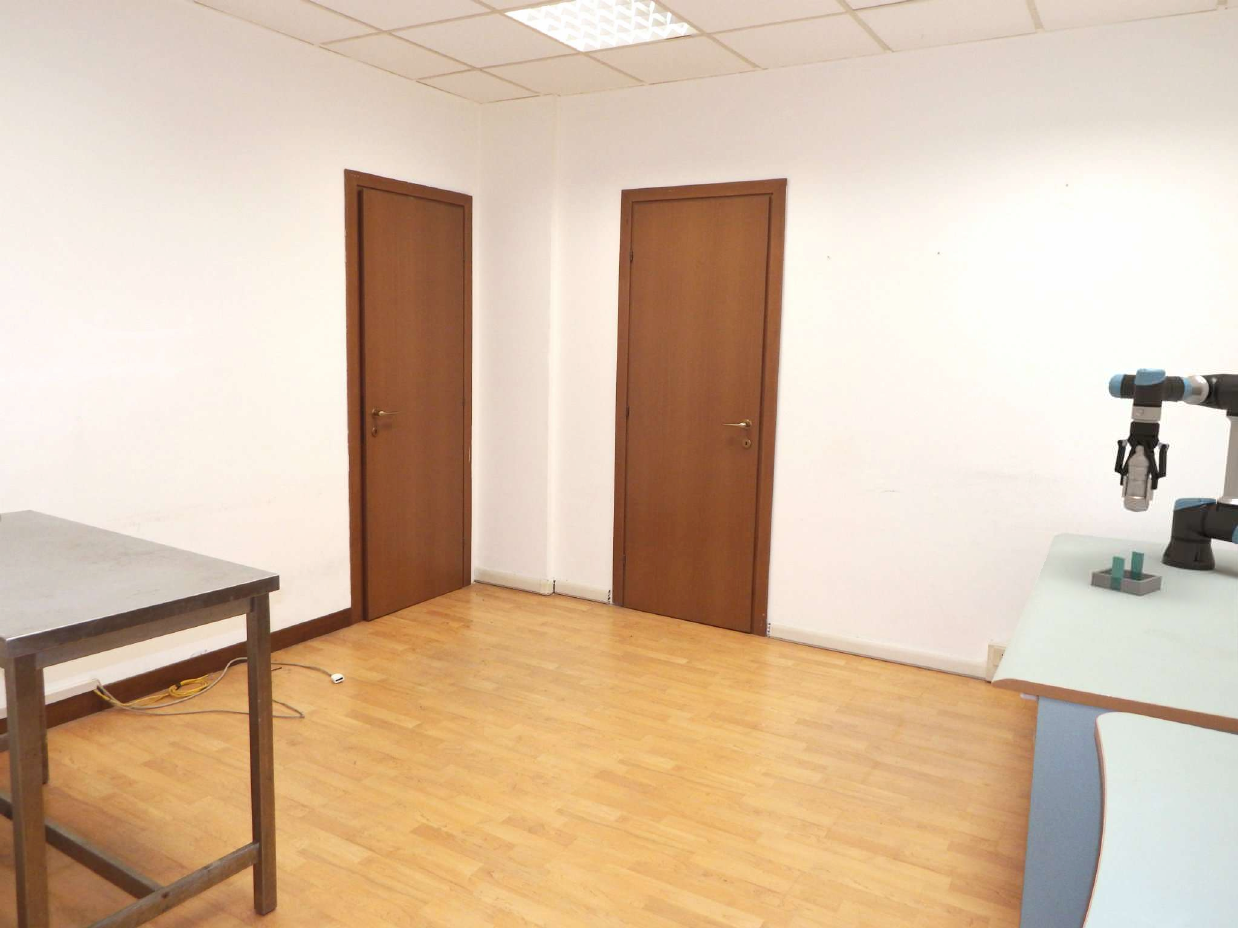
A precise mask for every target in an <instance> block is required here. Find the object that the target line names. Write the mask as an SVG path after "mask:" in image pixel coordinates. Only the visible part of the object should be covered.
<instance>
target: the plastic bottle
mask: <svg viewBox="0 0 1238 928" xmlns="http://www.w3.org/2000/svg"><path fill="white" fill-rule="evenodd" d="M1150 478H1151V473H1150V469H1149V460H1148V458H1147V457H1146V455H1145V450H1144V447H1143V445H1137V447H1136V449H1135V453H1134V454H1133V455H1132V456H1131V457H1130V458H1129V460H1128V486H1127V491H1126V495H1125V498H1124V497H1123V507H1124V509H1125V510H1127V511H1130V512H1134V513H1140V512H1141V513H1142V512H1146V511H1148V509H1149V506H1150V501H1146V496H1147V487H1148V479H1150Z"/></svg>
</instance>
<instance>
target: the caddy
mask: <svg viewBox="0 0 1238 928" xmlns="http://www.w3.org/2000/svg"><path fill="white" fill-rule="evenodd" d="M1144 559H1145V553H1144V552H1139V551H1135V550H1134V551H1132V554H1131V562H1130V569H1127V568H1125V564H1126V563H1125V562H1126V558H1125V557H1123V556H1122V557H1120V556H1112V562H1111V567H1107V568H1103V569H1100V570H1096V571H1092V572H1091V581H1090V585H1091V587H1092V586H1094V587H1096V588H1097V587H1098V588H1102V589H1108V590H1111V591H1116V592H1121V593H1124V594H1130V595H1134V596H1139V597H1142V596H1144V595H1149V594H1151V593H1153V592H1157V591H1160V590H1161V586H1162V577H1163V576H1162V575H1157V574H1152V573H1146V572H1143V570H1144Z"/></svg>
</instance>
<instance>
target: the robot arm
mask: <svg viewBox="0 0 1238 928" xmlns="http://www.w3.org/2000/svg"><path fill="white" fill-rule="evenodd" d="M1108 392H1109V394H1110V396H1111V397H1113V398H1116V399H1121V400H1123V399H1124V400H1125V399H1128V400H1132V406H1131V416H1130V417H1131V418H1130V419H1131V420H1132V421H1131V422H1130V424H1129V425H1130V426H1129V436H1128V437H1127V438H1126V439H1125V438H1124V439H1118V440H1117V447H1118V449H1117V453H1116V459H1115V464H1114V472H1115V473H1117V474H1119V475H1120V477H1119V478H1120V481H1119V485H1120V486H1121V487H1122V492H1121V498H1123V499H1124V498H1125V495H1126V491H1127V486H1128V460H1129V458H1130V457H1131V456H1132V455H1133V454H1134V453H1135V449H1136V447H1137V445H1143V447H1144V450H1145V455H1146V457H1147V458H1148V460H1149V469H1150V473H1151V474H1150V479H1148V487H1147V496H1146V501H1149V502H1151V501H1153V498H1154V492H1155V491H1157V490H1158V487H1159V479H1162V478H1165V477H1167V465H1168V464H1167V462H1168V461H1167V460H1168V450H1169V448H1170V444H1169V443H1163V442H1162V441H1160V439H1159V435H1160V427H1161V424H1160V421H1161V418H1162V406H1163V402H1174V403H1178V402H1184V403H1185V404H1187V405H1191V406H1199V407H1205V408H1209V409H1216V410H1222V411H1225V412H1226V413H1225V418H1227V419H1228V420H1229V421H1230V427H1229V428H1230V429H1229V437H1228V447H1227V456H1226V464H1225V465H1226V466H1225V475H1224V483H1223V494H1222V496H1220V497H1219V498H1217V500H1216V498H1213V497H1180V498H1178V499H1176V500H1175V501H1174V504H1173V505H1174V506H1173V509H1172V522H1171V529H1170V531H1171V532H1170V540H1169V542H1168V545H1167V547H1166V548H1165V550H1164V552H1163V554H1162V558H1161V559H1162V560H1161V562H1162V563H1163V564H1166V565H1167V566H1172V567H1176V568H1182V569H1186V570H1196V571H1197V570H1198V571H1210V570H1211V571H1212V570H1214V569H1215V567H1216V560H1215V556H1214V552H1213V547H1212V540H1217V541H1222V542H1226V543H1227V542H1228V543H1232V544H1234V545H1238V373H1216V374H1215V373H1214V374H1204V375H1203V374H1201V375H1200V374H1199V375H1197V374H1196V375H1194V374H1193V375H1188V376H1187V377H1185V376H1180V375H1170V376H1169V375H1166V371H1165V369H1159V368H1157V369H1156V368H1138V370H1137V371H1136V372H1135V374H1129V373H1121V374H1120V373H1118V374H1114V375H1113V376H1112V377H1111V378H1110V380H1109V382H1108ZM1128 445H1129V446H1130V450H1129V451H1128V456H1127V458H1126V460H1125V455H1126V450H1127V446H1128ZM1157 447H1158V450H1159V451H1158V452H1159V453H1158V466H1157V461H1156V454H1155V449H1156V448H1157Z"/></svg>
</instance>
